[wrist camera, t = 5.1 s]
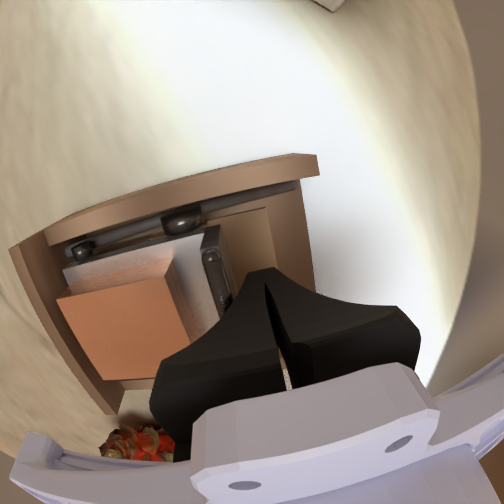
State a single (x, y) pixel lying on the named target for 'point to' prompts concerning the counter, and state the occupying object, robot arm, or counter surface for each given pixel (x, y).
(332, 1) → the supplement box
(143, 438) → the dragon fruit
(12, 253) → the brown wooden open box
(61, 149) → the counter surface
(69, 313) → the wheeled platform dolly
